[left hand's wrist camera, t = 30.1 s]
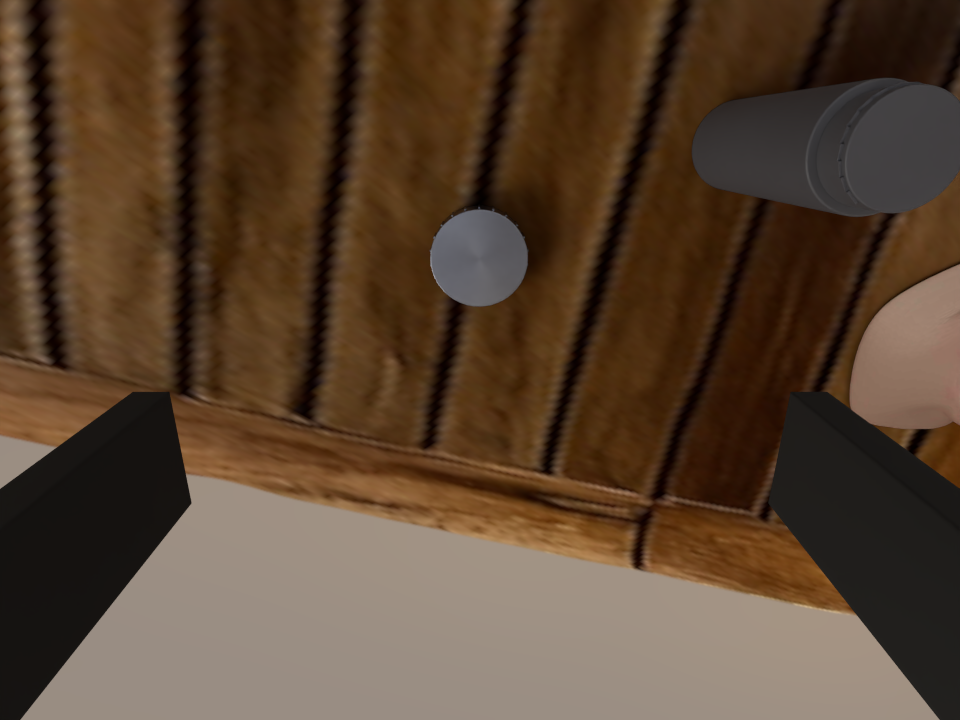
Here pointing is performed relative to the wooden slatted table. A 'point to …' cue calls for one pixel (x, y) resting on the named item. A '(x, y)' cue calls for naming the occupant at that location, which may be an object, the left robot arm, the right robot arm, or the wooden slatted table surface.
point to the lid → (479, 256)
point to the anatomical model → (912, 358)
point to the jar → (835, 146)
